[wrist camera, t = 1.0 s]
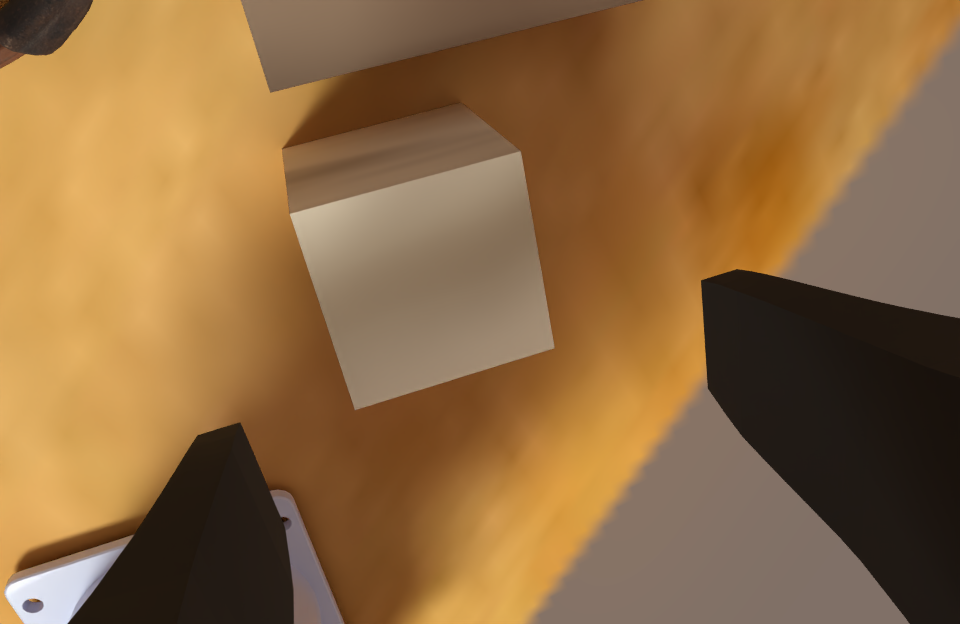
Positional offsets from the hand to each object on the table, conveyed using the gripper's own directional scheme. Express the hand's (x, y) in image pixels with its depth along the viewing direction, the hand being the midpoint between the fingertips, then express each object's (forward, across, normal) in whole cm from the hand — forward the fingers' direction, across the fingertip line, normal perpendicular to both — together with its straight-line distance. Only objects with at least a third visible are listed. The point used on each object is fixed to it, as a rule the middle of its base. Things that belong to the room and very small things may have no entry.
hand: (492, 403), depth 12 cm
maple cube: (+10, 0, 0) cm, 10 cm away
